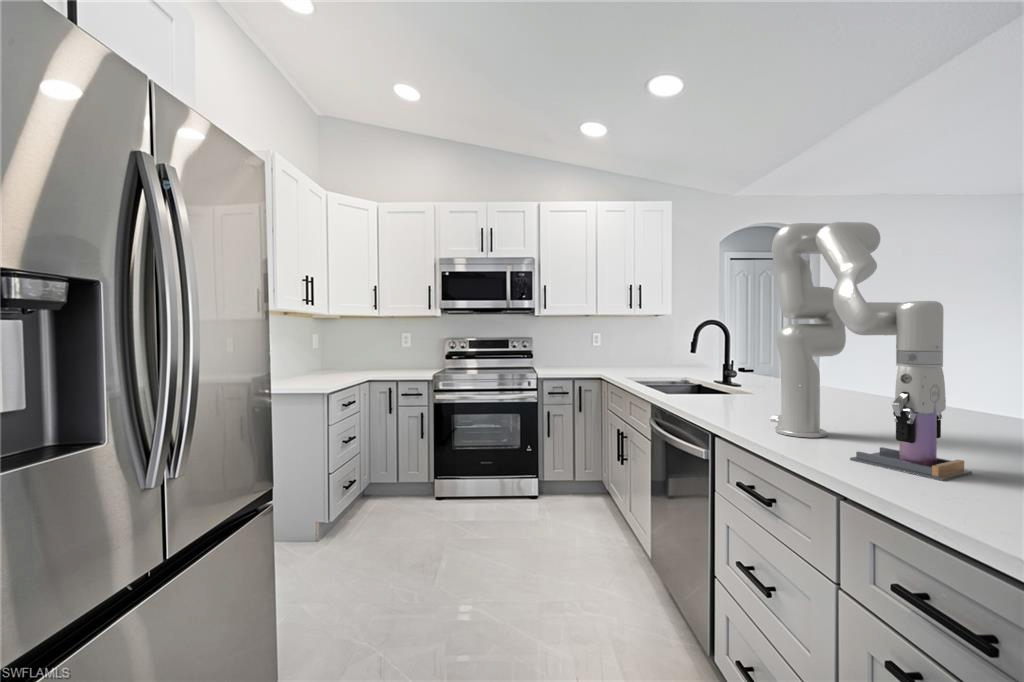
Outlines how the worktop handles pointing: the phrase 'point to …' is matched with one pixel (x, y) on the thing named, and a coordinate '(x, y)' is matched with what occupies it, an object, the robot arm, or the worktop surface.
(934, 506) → the worktop surface
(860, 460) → the dock
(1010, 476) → the worktop surface
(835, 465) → the worktop surface
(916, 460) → the beverage can
